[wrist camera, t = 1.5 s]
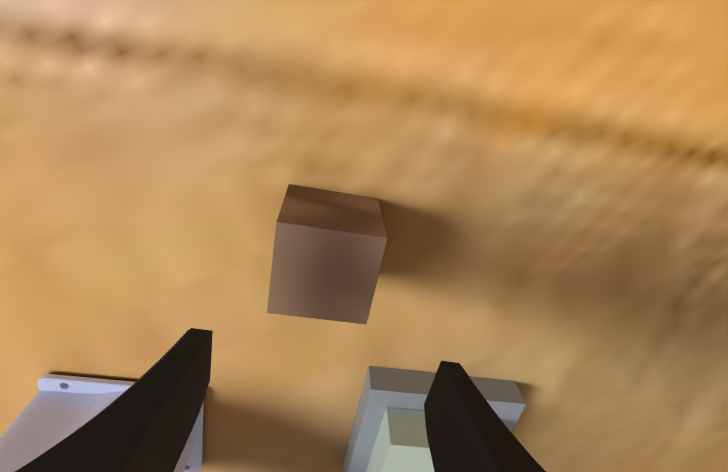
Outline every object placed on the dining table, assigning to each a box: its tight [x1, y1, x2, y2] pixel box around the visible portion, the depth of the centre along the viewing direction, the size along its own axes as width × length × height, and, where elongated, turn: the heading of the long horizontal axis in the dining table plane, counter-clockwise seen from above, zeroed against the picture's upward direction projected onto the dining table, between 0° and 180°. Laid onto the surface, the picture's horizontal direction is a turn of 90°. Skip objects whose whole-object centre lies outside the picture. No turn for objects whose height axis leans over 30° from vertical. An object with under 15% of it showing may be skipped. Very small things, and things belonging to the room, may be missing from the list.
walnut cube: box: [267, 184, 387, 324], centre depth 19 cm, size 4×4×4 cm
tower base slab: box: [342, 366, 526, 472], centre depth 28 cm, size 10×10×2 cm
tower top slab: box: [366, 407, 434, 472], centre depth 25 cm, size 7×7×2 cm
